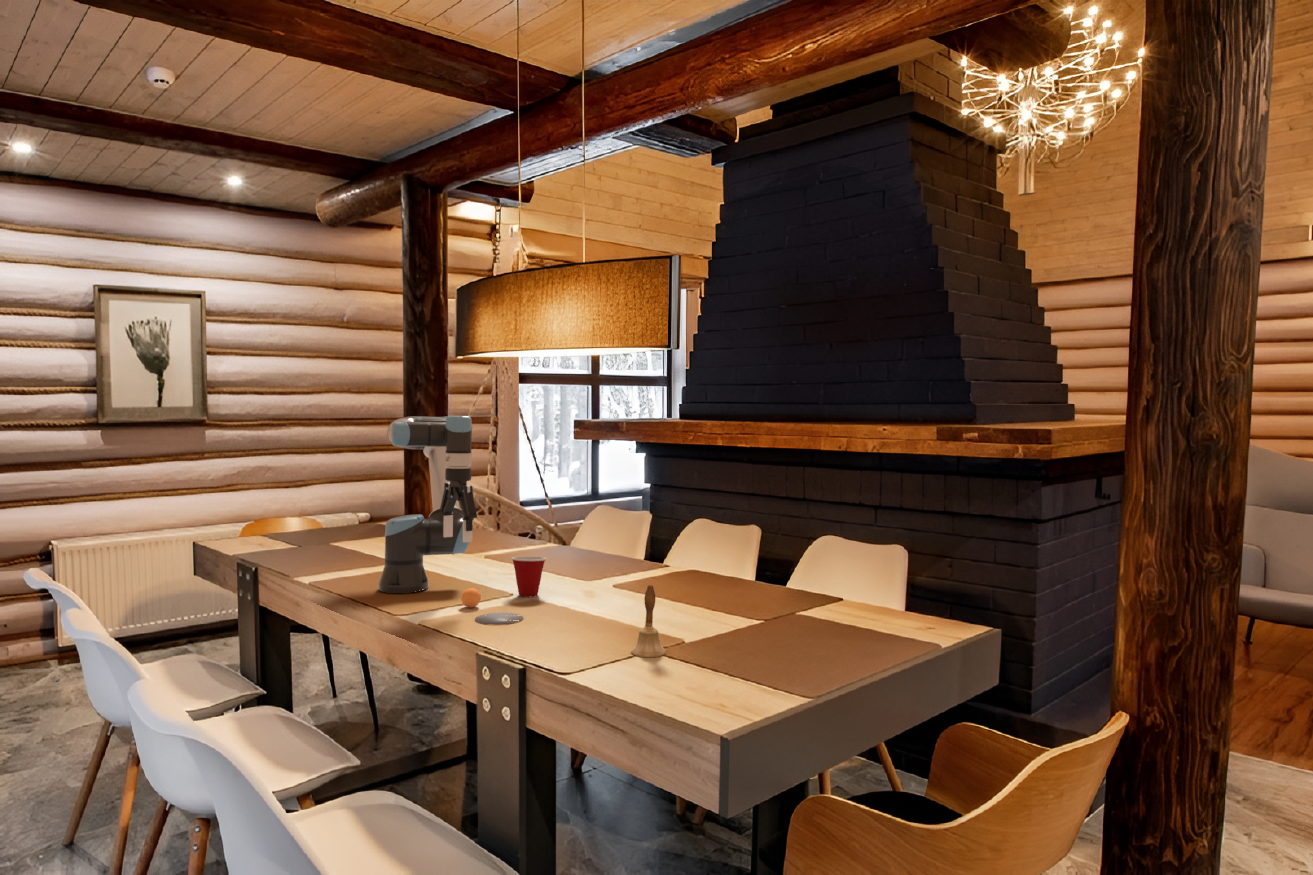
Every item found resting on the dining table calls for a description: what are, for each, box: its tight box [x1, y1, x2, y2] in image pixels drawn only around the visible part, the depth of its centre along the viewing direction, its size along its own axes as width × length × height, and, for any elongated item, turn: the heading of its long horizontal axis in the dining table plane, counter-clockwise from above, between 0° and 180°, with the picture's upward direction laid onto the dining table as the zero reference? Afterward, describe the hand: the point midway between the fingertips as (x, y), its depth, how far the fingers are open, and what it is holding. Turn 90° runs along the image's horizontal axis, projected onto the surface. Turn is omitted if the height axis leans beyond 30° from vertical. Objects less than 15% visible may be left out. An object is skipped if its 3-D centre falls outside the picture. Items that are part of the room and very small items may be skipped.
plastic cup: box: [511, 556, 547, 598], centre depth 252 cm, size 11×11×12 cm
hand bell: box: [630, 584, 667, 658], centre depth 191 cm, size 8×8×16 cm
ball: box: [460, 587, 482, 609], centre depth 234 cm, size 6×6×6 cm
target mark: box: [474, 612, 524, 625], centre depth 221 cm, size 13×13×1 cm
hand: (457, 539), depth 241 cm, fingers open, 12 cm apart
